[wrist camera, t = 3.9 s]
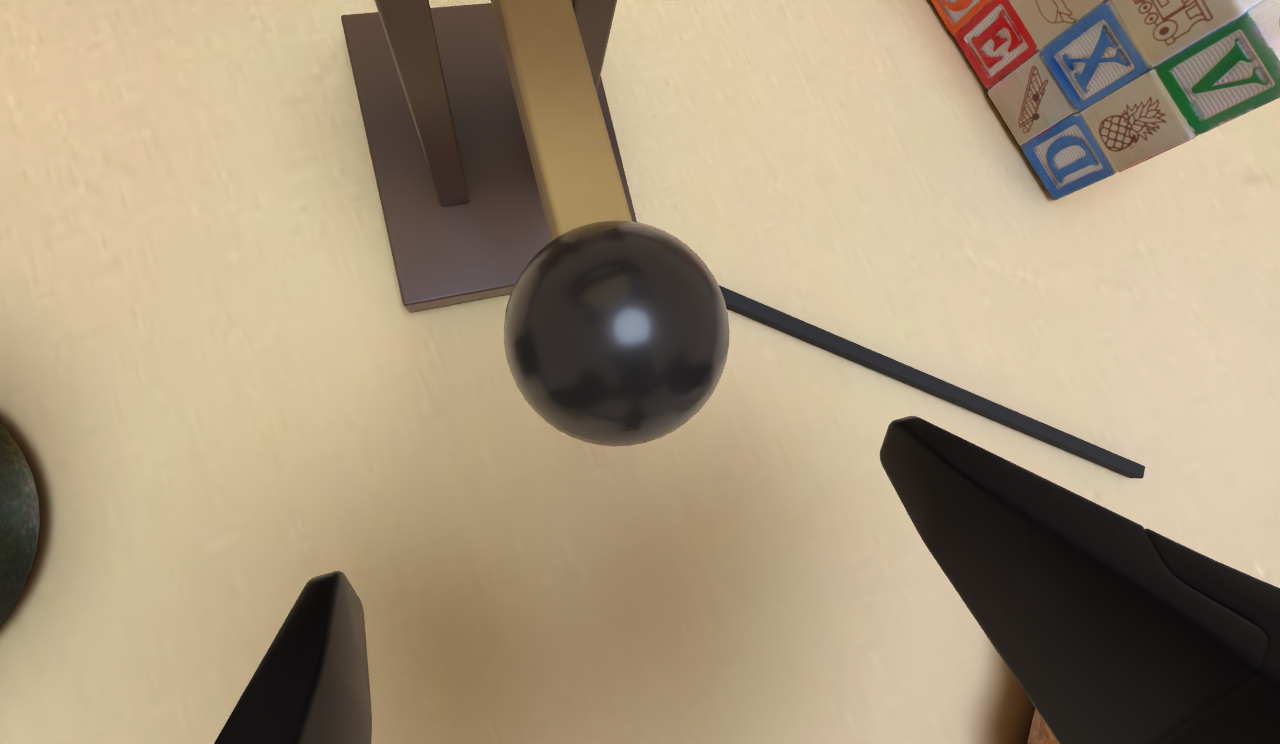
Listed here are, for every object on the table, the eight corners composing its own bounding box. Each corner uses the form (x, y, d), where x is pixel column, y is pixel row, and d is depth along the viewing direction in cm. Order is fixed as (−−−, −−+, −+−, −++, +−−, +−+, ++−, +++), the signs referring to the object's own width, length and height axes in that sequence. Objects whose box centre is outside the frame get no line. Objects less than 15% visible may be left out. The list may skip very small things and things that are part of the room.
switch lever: (717, 429, 10) (796, 396, 7) (532, 476, 10) (532, 462, 7) (544, -177, 13) (548, -399, 9) (384, -174, 12) (332, -414, 9)
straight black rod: (1132, 465, 28) (1146, 466, 27) (1130, 478, 28) (1143, 479, 27) (639, 256, 24) (642, 251, 24) (634, 269, 24) (637, 265, 24)
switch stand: (640, 270, 24) (839, -14, 9) (408, 313, 22) (184, 43, 7) (578, 15, 25) (668, -626, 10) (349, 36, 23) (34, -724, 8)
